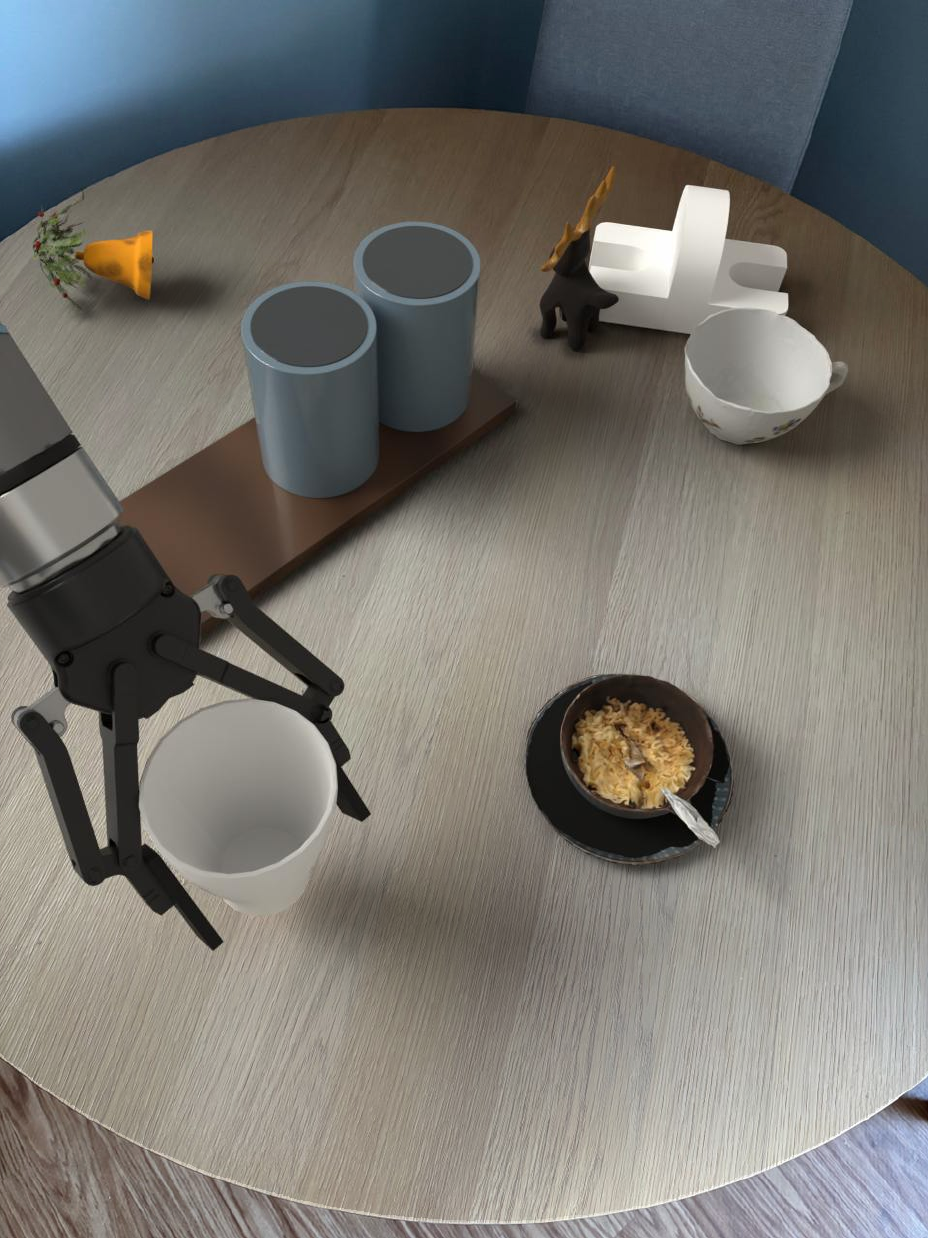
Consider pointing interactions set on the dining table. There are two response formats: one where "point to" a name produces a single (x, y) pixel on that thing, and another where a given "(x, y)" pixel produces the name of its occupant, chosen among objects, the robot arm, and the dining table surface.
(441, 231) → the slate cup
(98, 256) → the christmas decoration
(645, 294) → the bracket
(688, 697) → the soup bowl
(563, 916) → the dining table surface
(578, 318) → the figurine
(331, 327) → the slate cup
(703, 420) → the teacup
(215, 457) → the walnut board
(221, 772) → the cup
